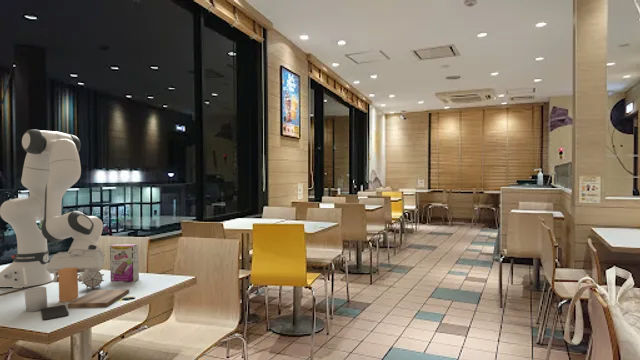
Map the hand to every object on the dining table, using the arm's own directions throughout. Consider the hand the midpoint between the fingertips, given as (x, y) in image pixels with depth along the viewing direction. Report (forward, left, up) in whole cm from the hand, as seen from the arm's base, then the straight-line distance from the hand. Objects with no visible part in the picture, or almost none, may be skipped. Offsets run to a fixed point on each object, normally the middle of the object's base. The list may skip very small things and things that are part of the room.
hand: (67, 281), depth 157 cm
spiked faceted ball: (+1, +17, -7) cm, 18 cm away
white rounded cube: (-5, -10, -7) cm, 14 cm away
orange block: (0, +1, -7) cm, 7 cm away
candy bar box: (+9, +29, -7) cm, 31 cm away
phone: (+4, -15, -8) cm, 18 cm away
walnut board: (+13, -1, -7) cm, 15 cm away
